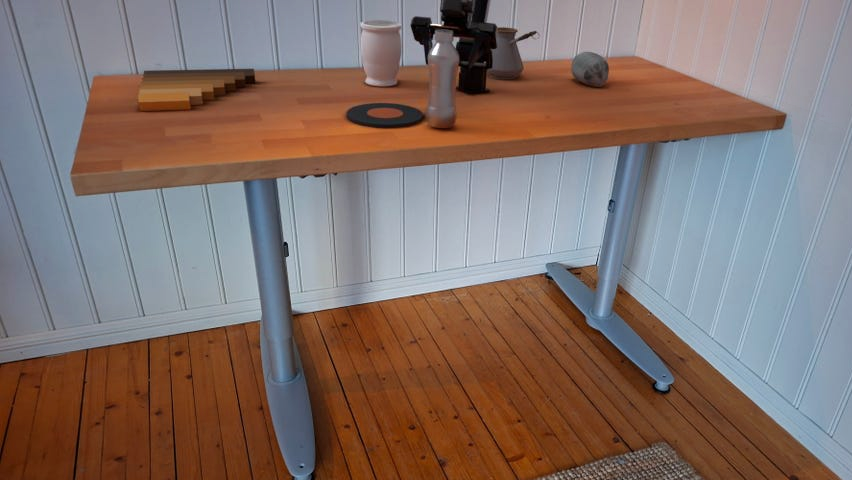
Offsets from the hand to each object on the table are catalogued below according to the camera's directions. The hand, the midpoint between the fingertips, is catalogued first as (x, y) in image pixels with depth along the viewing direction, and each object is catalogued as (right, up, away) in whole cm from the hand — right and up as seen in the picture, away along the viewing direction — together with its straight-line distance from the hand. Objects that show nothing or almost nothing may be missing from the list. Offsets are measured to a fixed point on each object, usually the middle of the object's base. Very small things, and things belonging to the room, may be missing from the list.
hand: (447, 65), depth 145 cm
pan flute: (-58, -3, +13) cm, 60 cm away
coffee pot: (+16, +9, +44) cm, 48 cm away
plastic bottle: (-2, -13, +2) cm, 13 cm away
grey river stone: (+37, +9, +47) cm, 61 cm away
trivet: (-14, -9, +7) cm, 18 cm away
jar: (-19, +5, +33) cm, 38 cm away
